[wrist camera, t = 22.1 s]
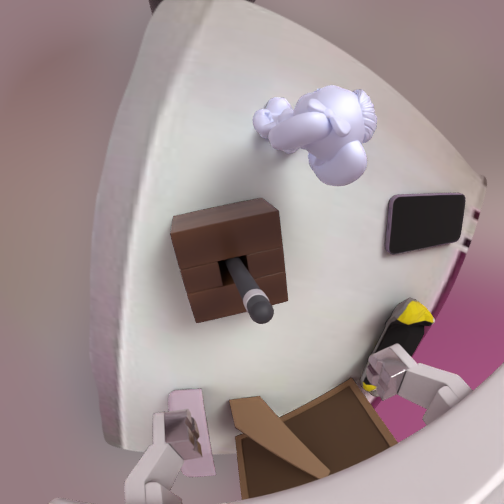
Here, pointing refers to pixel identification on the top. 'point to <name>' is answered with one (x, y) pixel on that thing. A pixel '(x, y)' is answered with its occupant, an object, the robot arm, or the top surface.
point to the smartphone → (423, 221)
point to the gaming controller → (402, 331)
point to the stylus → (250, 292)
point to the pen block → (229, 255)
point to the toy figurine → (323, 130)
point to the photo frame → (305, 439)
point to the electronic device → (195, 404)
